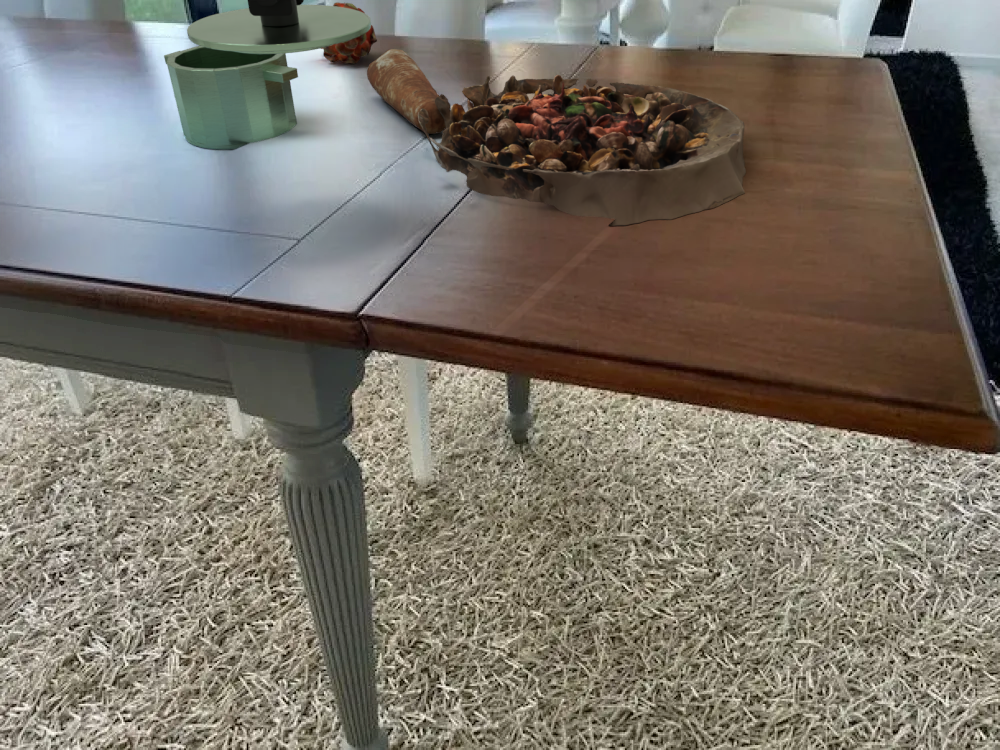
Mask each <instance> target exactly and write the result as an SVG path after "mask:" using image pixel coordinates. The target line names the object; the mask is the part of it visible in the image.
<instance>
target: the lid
mask: <svg viewBox="0 0 1000 750" xmlns="http://www.w3.org/2000/svg"><path fill="white" fill-rule="evenodd" d="M293 4H294V12H293V13H292V14H291V15H289V16H253V15H252V14H251V13H250V11H249V7H247V8H240V9H233V10H229V11H228V10H227V11H224V12H220V13H215V14H212V15H208V16H206V17H203V18H200V19H198V20H196V21H193V22H192V23H191V24H189V25H188V27H187V28H186V33H187V37H188V40H189V41H190V42H192V43H193V44H195V45H197V46H203V47H206V48H211V49H216V50H224V51H234V52H240V53H250V54H283V53H286V54H294V53H295V54H296V53H302V52H309V51H315V50H320V48H324V47H328V46H331V45H334V44H338V43H342V42H346V41H349V40H352V39H355V38H357V37H360V36H362V35H364V34H365V33H367V32H368V31H369V30H370V28H371V25H372V20H371V17H370V16H369V15H368V14H367V13H366V12H365V13H363V12H360V11H357V10H354V9H349V8H344V7H337V6H333V5H324V4H301V5H297V4H296V0H293Z"/></svg>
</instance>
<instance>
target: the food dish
mask: <svg viewBox="0 0 1000 750" xmlns="http://www.w3.org/2000/svg"><path fill="white" fill-rule="evenodd" d="M578 80H579V81H580V78H565V79H564V78H563V77H562V76H561V75H560V74H556V75H555V76H554V77H553V78H523V79H517V78H516V76H515V75H511V76H510V77H509V78H508V80H506V81H505V82H504V83H505V84H504V86H503V87H504V88H503V89H502V90H501V92H499V93H498V94H495V93H494V92H493V91H492V90H491V88H490V84H489V83H490V81H491V77H490V75H487V76H486V79H485V80H484V82H483V84H482V85H481V84H478V85H476V84H475V85H472V86H467V87H463V88H462V89H463V90H462V91H461V92H462V94H463V96H464V97H465V98H466V99H467V101H466V103H467V105H466V107H467V110H465V108H464V106H463V104H459V103H453V104H452V105H451V103H450V102H449V99H448V98H447V96H446V95H444V94H442V93H441V94H439V96H438V97H437V98H436V99H435V104H436V106H437V108H438V110H439V111H440V113H441V115H442V117H443V118H444V120H445V126H446V129H445V130H444V131H442V136H441V140H440V142H437V141H436V140H435V139H433V137H430V136H429V135H430V134H428V133H427V129H426V127H425V124H427V123H428V122H429V119H428V118H429V116H428V112H427V111H426V110H425V109H421V110H420V111H419V112H418V120H419V123H420V125H421V127H422V129H423V131H424V132H423V131H422V132H423V133H424V134H425V136H426V137H427V139H428V142H429V144H430V147H431V150H432V151H433V154H434V157H435V160H436V162H437V163H438V164H439V165H440V168H442V169H444V170H446V173H449V172H451V171H456V172H459V173H461V174H463V175H464V176H466V179H465V183H466V187H467V188H468V189H470V190H472V192H473V191H474V192H475V193H477V194H482V195H486V196H491V197H502V198H503V197H504V198H509V199H514V200H520V199H521V200H525V201H528V202H532V203H544V204H547V205H550V206H553V207H555V208H556V209H557V210H558V211H560V212H563V213H566V214H567V215H571V216H576V217H592V218H593V217H594V218H605V219H612V221H611V222H610V223H609V224H608V226H610V227H615V226H628V225H629V226H630V225H632V224H639V223H643V222H646V221H653V220H675V219H677V218H680V217H683V216H687V215H690V214H694V213H695V214H697V213H698V212H703V211H704V210H712V209H715V208H717V207H719V206H721V205H723V204H725V203H728V202H729V201H732V200H733V199H736V198H737V197H739V196H741V195H744V194H745V193H746V192H745V189H744V186H743V183H744V180H743V179H744V176H745V175H746V173H747V170H746V168H745V167H746V164H745V159H744V136H745V128H746V127H745V122H744V121H743V120H741V118H740V117H739V116H738V115H737V114H735V113H734V112H733V111H732V110H731V109H730V108H728V107H726V106H724V105H723V104H720V103H717V102H715V101H713V100H712V99H710V98H707V97H703V96H699V95H696V94H693V93H690V92H687V91H683V90H680V89H675V88H672V87H667V86H666V87H665V86H661V85H657V86H655V85H650V84H635V83H626V82H618V81H616V82H609V86H612V87H614V89H615V91H614V90H613V89H612V88H611V87H608V86H607V87H606V86H603V85H598V86H597V87H596V88H595V86H596V85H597V83H598V80H597V79H592V78H587V79H586V82H585V84H584V85H583V87H582V89H579V88H575V87H574V86H575V85H577V82H578ZM586 85H587V86H588V87H589V88H588V87H587V86H586ZM572 87H573V88H572ZM549 90H550V91H553V93H548V94H543V92H546V91H549ZM531 94H532V95H533V94H534V95H533V97H532V98H529V96H528V95H531ZM648 95H651V97H648V98H647V96H648ZM434 145H435V146H436V147H437V148H438V149H437V148H436V147H435V146H434Z"/></svg>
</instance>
